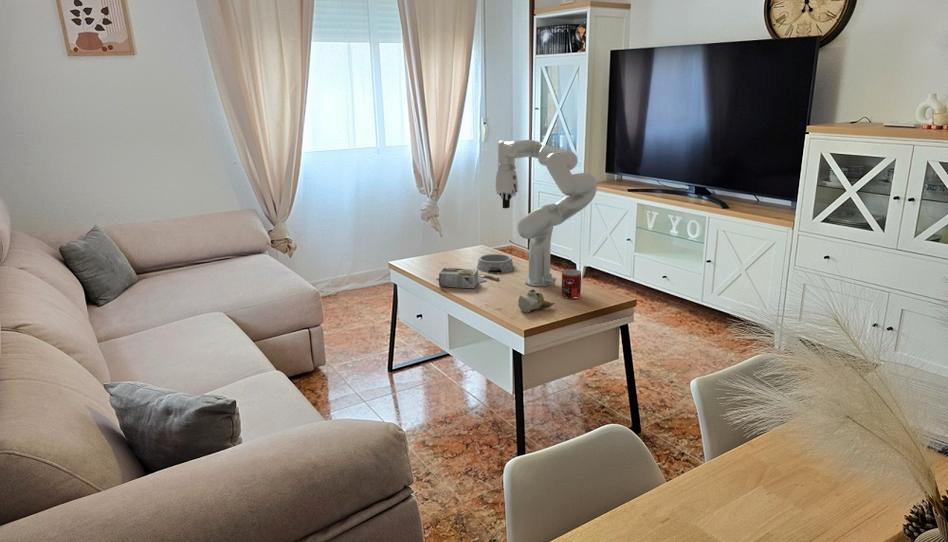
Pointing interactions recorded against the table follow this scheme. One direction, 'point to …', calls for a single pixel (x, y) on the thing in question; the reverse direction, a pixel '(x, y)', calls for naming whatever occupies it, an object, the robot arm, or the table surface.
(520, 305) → the ceramic sculpture
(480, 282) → the mat
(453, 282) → the coffee box
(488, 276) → the turner
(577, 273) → the canned food
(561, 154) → the robot arm
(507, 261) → the dog bowl
